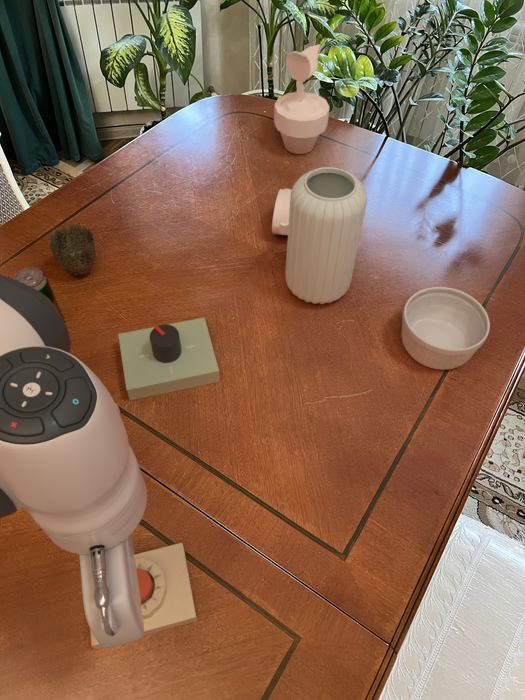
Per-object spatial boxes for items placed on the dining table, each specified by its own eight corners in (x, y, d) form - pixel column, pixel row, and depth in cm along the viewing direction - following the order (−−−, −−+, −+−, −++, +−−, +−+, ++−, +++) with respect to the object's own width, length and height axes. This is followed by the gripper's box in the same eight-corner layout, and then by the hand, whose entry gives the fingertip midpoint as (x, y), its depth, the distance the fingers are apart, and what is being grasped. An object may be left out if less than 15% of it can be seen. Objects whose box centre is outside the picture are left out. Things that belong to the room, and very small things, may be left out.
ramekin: (386, 361, 92) (395, 334, 86) (405, 304, 99) (414, 276, 94) (469, 387, 89) (483, 361, 84) (482, 327, 97) (496, 299, 91)
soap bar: (320, 251, 107) (324, 218, 101) (271, 244, 108) (272, 210, 102) (328, 211, 114) (333, 177, 108) (282, 204, 115) (284, 170, 109)
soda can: (70, 331, 95) (50, 280, 85) (41, 344, 93) (17, 294, 83) (58, 312, 97) (37, 260, 88) (30, 324, 95) (5, 273, 86)
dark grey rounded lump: (66, 256, 105) (54, 222, 99) (106, 258, 105) (96, 224, 99) (56, 286, 101) (42, 252, 94) (97, 287, 101) (87, 254, 94)
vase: (339, 319, 97) (358, 215, 80) (275, 301, 100) (280, 196, 82) (356, 274, 104) (377, 169, 86) (296, 258, 106) (305, 152, 88)
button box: (95, 649, 66) (87, 643, 63) (89, 572, 72) (81, 562, 68) (197, 621, 68) (194, 613, 65) (184, 547, 74) (181, 537, 70)
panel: (129, 400, 87) (126, 389, 84) (121, 345, 93) (117, 333, 91) (219, 381, 89) (219, 370, 87) (205, 328, 96) (204, 316, 93)
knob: (187, 352, 89) (184, 334, 85) (165, 368, 87) (161, 350, 83) (169, 335, 91) (166, 318, 87) (147, 351, 89) (143, 333, 85)
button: (123, 608, 66) (121, 604, 64) (120, 576, 68) (117, 572, 66) (155, 599, 66) (152, 595, 65) (150, 568, 68) (148, 564, 67)
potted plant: (308, 169, 123) (319, 50, 103) (263, 151, 126) (265, 32, 106) (336, 141, 129) (352, 23, 109) (292, 124, 133) (299, 8, 113)
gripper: (147, 614, 42) (169, 649, 53) (115, 388, 54) (138, 455, 65) (58, 639, 41) (100, 670, 52) (45, 402, 53) (82, 468, 64)
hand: (121, 549), depth 58 cm, fingers open, 8 cm apart
